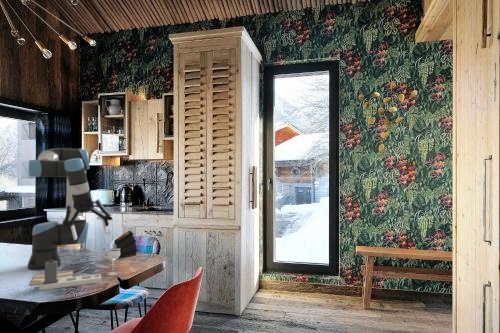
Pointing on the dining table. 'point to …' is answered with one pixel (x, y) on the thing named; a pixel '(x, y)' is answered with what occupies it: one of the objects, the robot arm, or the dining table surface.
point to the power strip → (71, 281)
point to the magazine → (126, 244)
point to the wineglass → (113, 257)
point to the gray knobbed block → (50, 272)
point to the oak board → (60, 274)
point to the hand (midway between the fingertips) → (91, 236)
